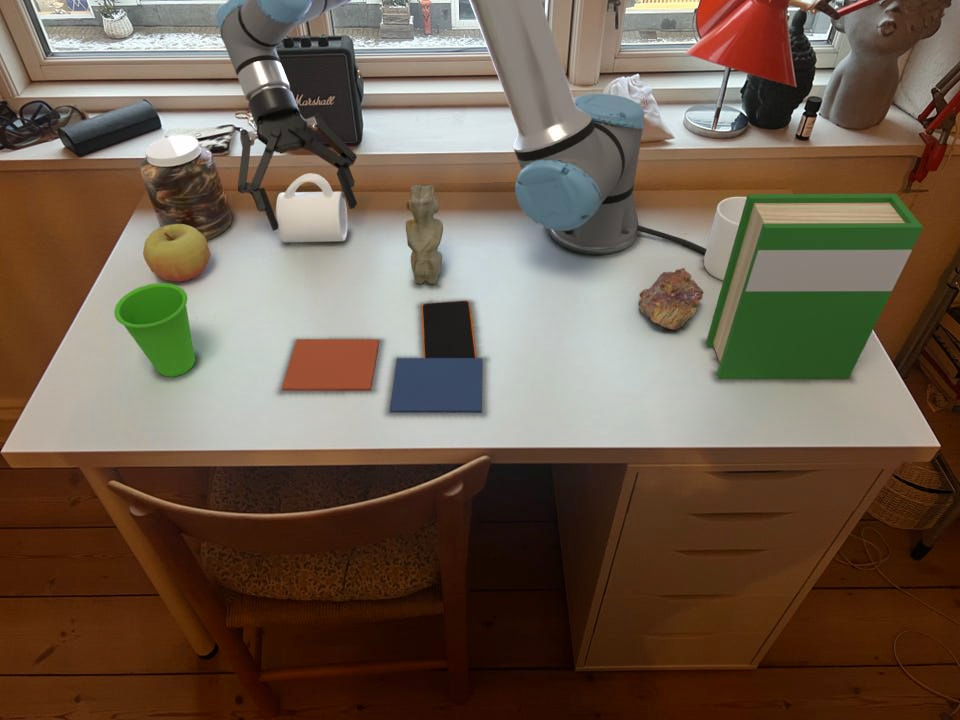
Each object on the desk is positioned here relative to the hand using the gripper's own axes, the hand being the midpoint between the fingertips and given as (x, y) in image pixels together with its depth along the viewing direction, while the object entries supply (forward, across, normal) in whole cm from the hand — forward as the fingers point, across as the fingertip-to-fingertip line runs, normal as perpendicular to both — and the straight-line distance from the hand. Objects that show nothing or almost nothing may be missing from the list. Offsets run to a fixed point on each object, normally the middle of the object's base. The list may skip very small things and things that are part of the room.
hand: (315, 217), depth 117 cm
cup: (+17, +28, +10) cm, 34 cm away
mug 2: (+33, -54, +26) cm, 69 cm away
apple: (+2, +22, -6) cm, 23 cm away
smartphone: (+27, -8, +20) cm, 35 cm away
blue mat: (+32, -2, +25) cm, 41 cm away
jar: (-8, +17, -15) cm, 24 cm away
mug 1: (+2, 0, -5) cm, 6 cm away
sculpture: (+16, -12, +9) cm, 22 cm away
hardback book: (+46, -45, +39) cm, 75 cm away
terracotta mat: (+25, +9, +18) cm, 32 cm away
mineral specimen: (+35, -40, +27) cm, 59 cm away
